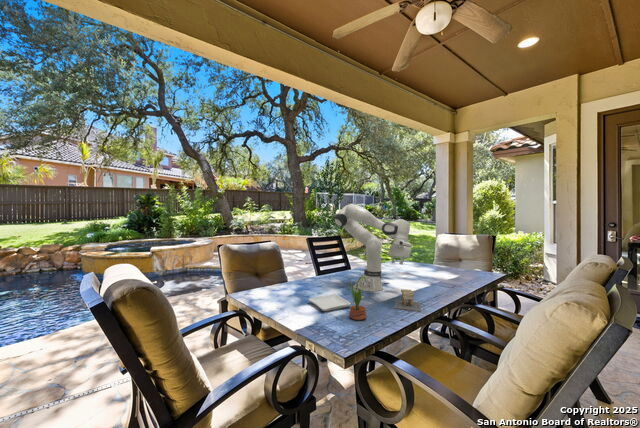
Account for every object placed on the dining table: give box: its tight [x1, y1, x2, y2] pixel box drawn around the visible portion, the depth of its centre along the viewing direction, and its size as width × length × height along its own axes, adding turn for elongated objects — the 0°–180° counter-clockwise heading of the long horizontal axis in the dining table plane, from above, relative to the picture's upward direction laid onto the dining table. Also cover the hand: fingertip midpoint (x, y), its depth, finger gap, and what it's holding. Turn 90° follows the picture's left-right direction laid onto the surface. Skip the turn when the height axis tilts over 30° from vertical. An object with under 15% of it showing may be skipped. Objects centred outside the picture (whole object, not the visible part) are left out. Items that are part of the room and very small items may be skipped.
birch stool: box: [400, 288, 415, 306], centre depth 184 cm, size 6×6×9 cm
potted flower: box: [348, 275, 370, 321], centre depth 163 cm, size 12×10×25 cm
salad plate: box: [308, 293, 352, 312], centre depth 183 cm, size 21×21×3 cm
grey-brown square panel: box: [393, 299, 422, 313], centre depth 183 cm, size 16×16×1 cm
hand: (396, 263), depth 187 cm, fingers open, 8 cm apart
